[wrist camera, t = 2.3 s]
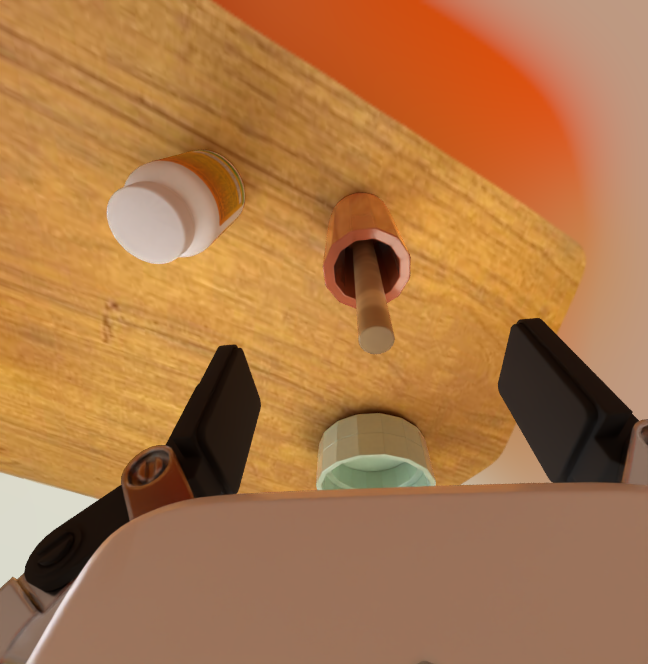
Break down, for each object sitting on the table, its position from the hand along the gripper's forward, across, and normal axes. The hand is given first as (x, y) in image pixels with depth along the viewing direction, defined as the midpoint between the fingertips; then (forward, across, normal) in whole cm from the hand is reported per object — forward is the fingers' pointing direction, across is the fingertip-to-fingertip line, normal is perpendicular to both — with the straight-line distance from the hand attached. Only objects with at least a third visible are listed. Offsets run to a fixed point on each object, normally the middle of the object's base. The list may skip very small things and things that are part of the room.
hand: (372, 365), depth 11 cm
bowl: (+17, 0, +28) cm, 33 cm away
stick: (+16, 0, 0) cm, 16 cm away
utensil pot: (+17, 0, 0) cm, 17 cm away
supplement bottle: (+17, +10, -4) cm, 20 cm away
